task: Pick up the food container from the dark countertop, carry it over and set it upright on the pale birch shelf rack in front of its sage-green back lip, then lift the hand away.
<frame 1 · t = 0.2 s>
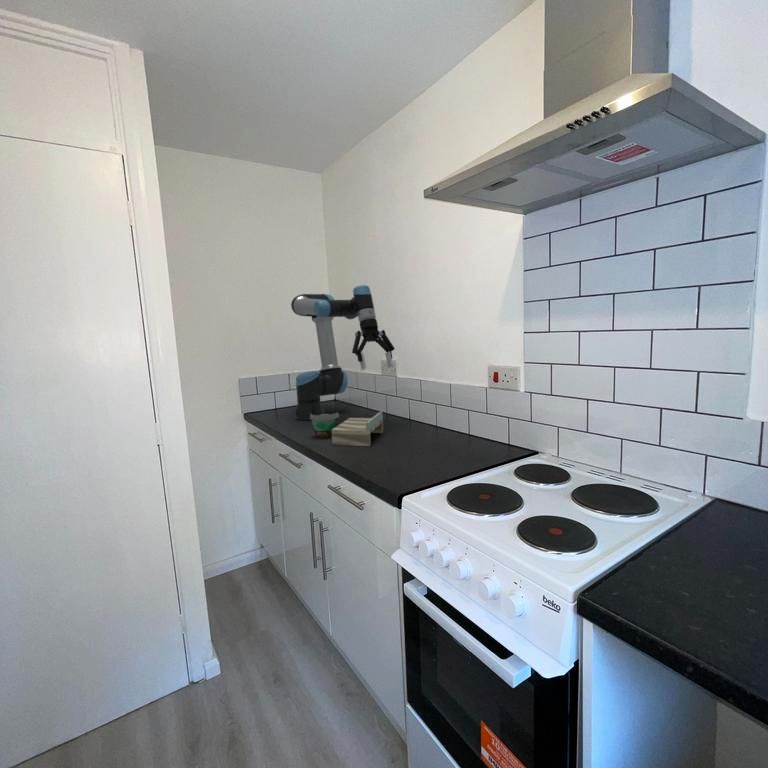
hand: (377, 367, 178), 28 cm above the counter, tool tilted 20°, fingers open, 13 cm apart
food container: (324, 437, 175), on the counter
shelf rack: (359, 438, 172), on the counter
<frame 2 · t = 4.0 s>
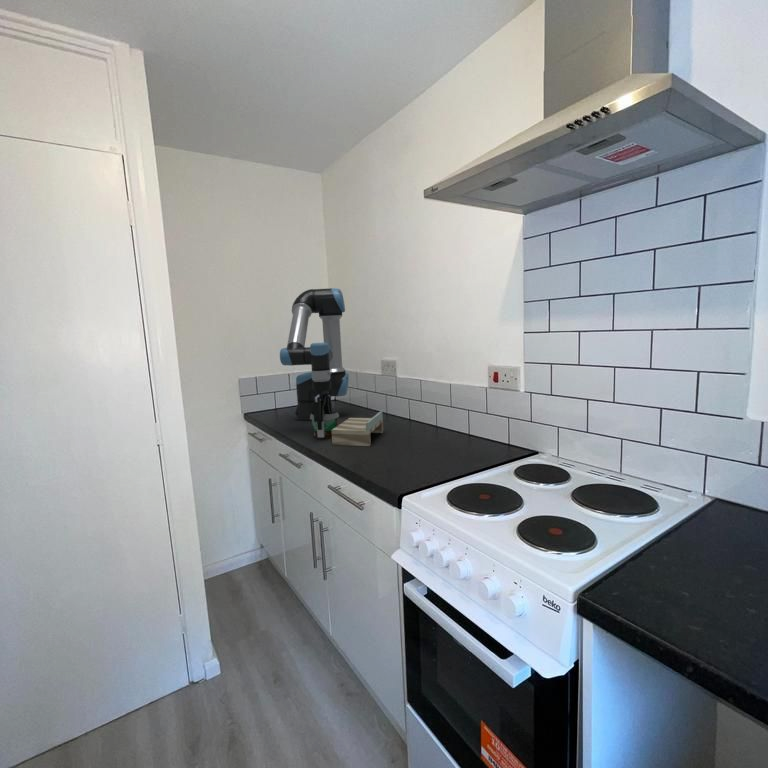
hand: (324, 434, 175), 1 cm above the counter, tool pointing down, fingers open, 7 cm apart
food container: (324, 437, 175), on the counter, touching gripper
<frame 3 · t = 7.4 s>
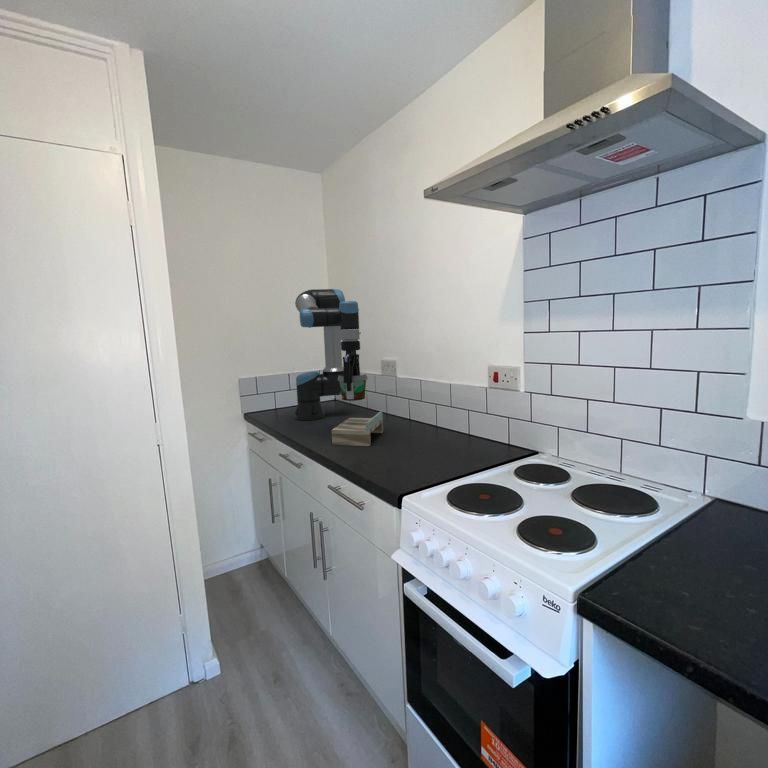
hand: (353, 397, 170), 17 cm above the counter, tool pointing down, fingers closed on food container, 7 cm apart
food container: (353, 400, 170), point 16 cm above the counter, touching gripper
when the fingers open (7 cm above the counter, at t = 10.9 s): food container stays where it is, resting on shelf rack.
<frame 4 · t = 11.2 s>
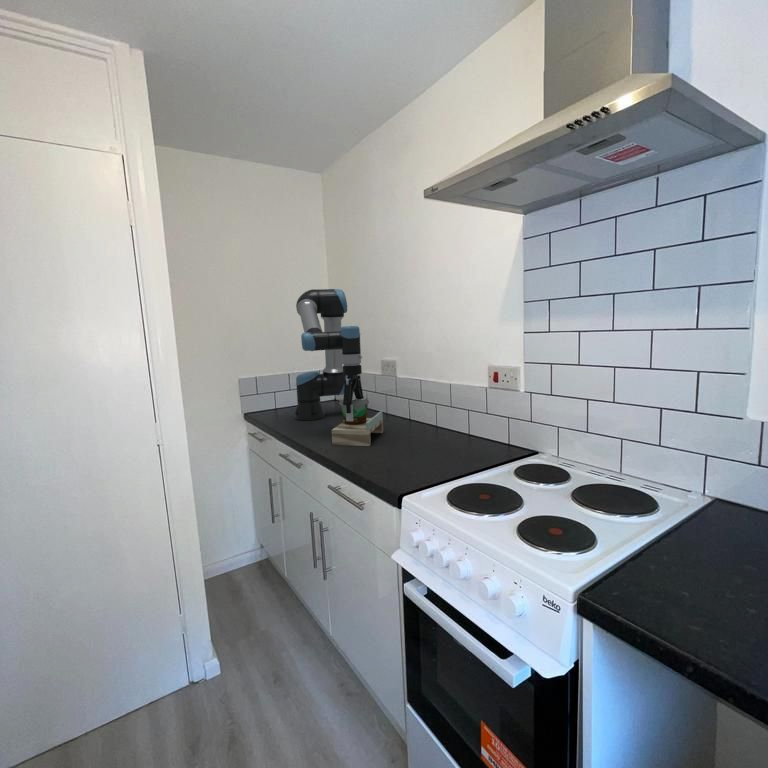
hand: (354, 417, 171), 8 cm above the counter, tool pointing down, fingers open, 11 cm apart
food container: (354, 424, 171), point 6 cm above the counter, touching shelf rack
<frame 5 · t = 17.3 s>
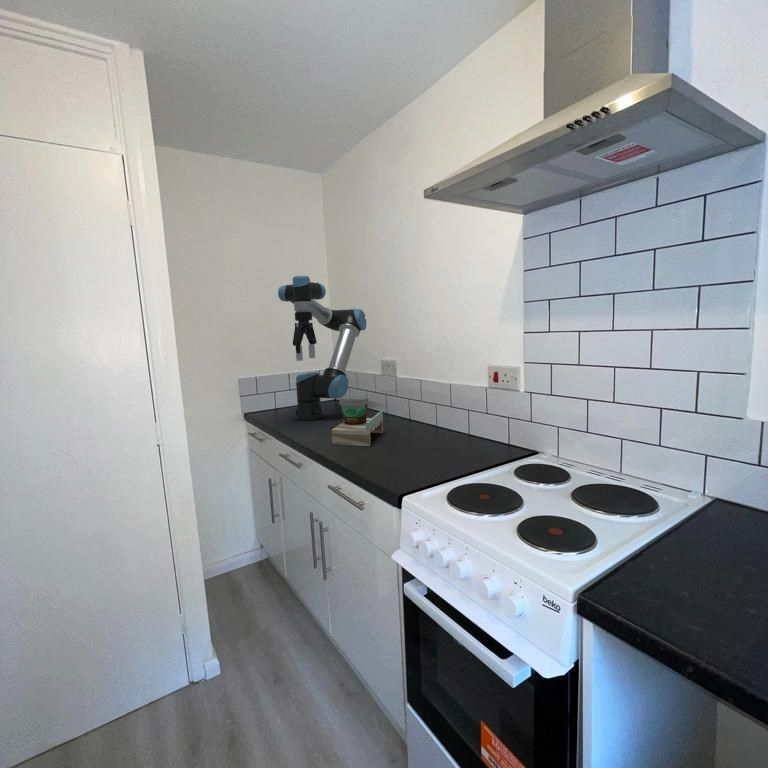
hand: (306, 359, 189), 32 cm above the counter, tool pointing down, fingers open, 13 cm apart
nothing on the counter moved.
at the end: food container inside the target area (1.0 cm from its centre), point 5.8 cm above the counter; food container touching shelf rack; food container tilted 0° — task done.
